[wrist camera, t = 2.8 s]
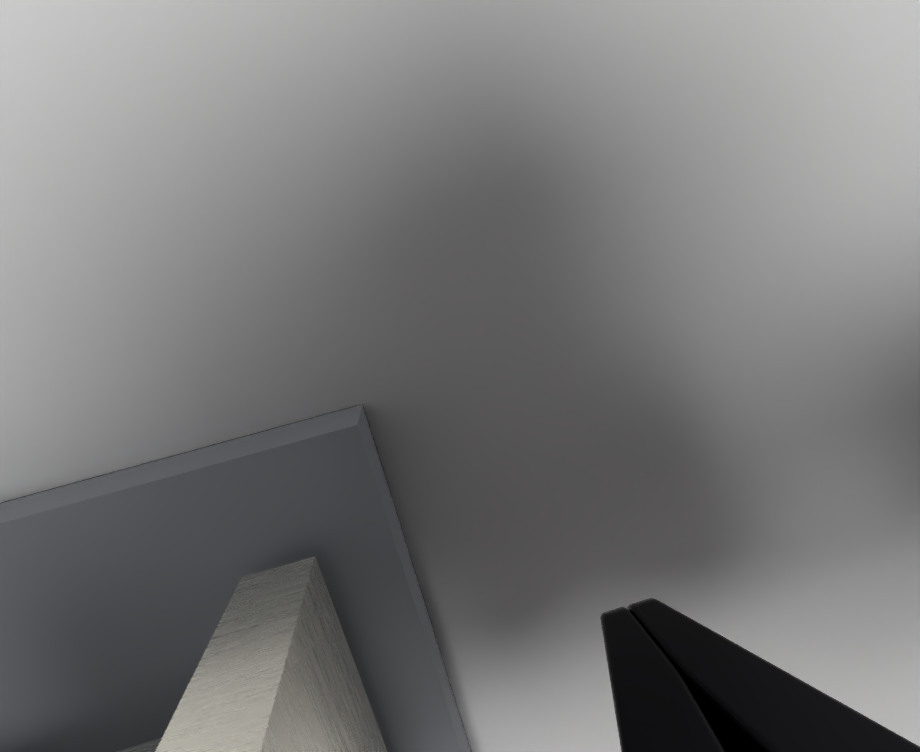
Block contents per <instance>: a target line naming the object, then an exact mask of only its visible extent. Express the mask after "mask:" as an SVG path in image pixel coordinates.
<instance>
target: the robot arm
mask: <svg viewBox="0 0 920 752" xmlns="http://www.w3.org/2000/svg"><path fill="white" fill-rule="evenodd" d="M601 624H602V631H603V637H604V643H605V650H606V656H607V662H608V669H609V675H610V681H611V688H612V694H613V701H614V707H615V713H616V720H617V726H618V732H619V739H620V745H621V752H920V747H919V746H918V745H916V744H914V743H912V742H910V741H909V740H907V739H905V738H903V737H902V736H900V735H898V734H896V733H894V732H893V731H891V730H889V729H887V728H885V727H884V726H882V725H880V724H878V723H876V722H875V721H873V720H871V719H869V718H868V717H866V716H864V715H862V714H860V713H859V712H857V711H855V710H853V709H851V708H850V707H848V706H846V705H844V704H843V703H841V702H839V701H837V700H835V699H834V698H832V697H830V696H828V695H826V694H825V693H823V692H821V691H819V690H818V689H816V688H814V687H812V686H810V685H809V684H807V683H805V682H803V681H801V680H800V679H798V678H796V677H794V676H792V675H791V674H789V673H787V672H785V671H784V670H782V669H780V668H778V667H776V666H775V665H773V664H771V663H769V662H767V661H766V660H764V659H762V658H760V657H759V656H757V655H755V654H753V653H751V652H750V651H748V650H746V649H744V648H742V647H741V646H739V645H737V644H735V643H734V642H732V641H730V640H728V639H726V638H725V637H723V636H721V635H719V634H717V633H716V632H714V631H712V630H710V629H708V628H707V627H705V626H703V625H701V624H700V623H698V622H696V621H694V620H692V619H691V618H689V617H687V616H685V615H683V614H682V613H680V612H678V611H676V610H675V609H673V608H671V607H669V606H667V605H666V604H664V603H662V602H660V601H658V600H656V599H653V598H650V599H646V600H643V601H640V602H637V603H633V604H631V605H629V607H628V609H627V608H625V607H621V608H617V609H614V610H611V611H608V612H605V613H603V614H602V615H601Z"/></svg>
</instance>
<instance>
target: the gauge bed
mask: <svg viewBox="0 0 920 752" xmlns="http://www.w3.org/2000/svg"><path fill="white" fill-rule="evenodd" d="M313 556H315V557H316V560H317V562H318V565H319V568H320V570H321V573H322V576H323V578H324V581H325V584H326V587H327V589H328V592H329V595H330V597H331V600H332V603H333V605H334V608H335V611H336V613H337V616H338V619H339V622H340V624H341V627H342V630H343V632H344V635H345V638H346V640H347V643H348V646H349V648H350V651H351V654H352V657H353V659H354V662H355V665H356V667H357V670H358V673H359V675H360V678H361V681H362V683H363V686H364V689H365V692H366V694H367V697H368V700H369V702H370V705H371V708H372V710H373V713H374V716H375V718H376V721H377V724H378V727H379V729H380V732H381V735H382V737H383V740H384V743H385V745H386V748H387V751H388V752H471V750H470V746H469V743H468V740H467V737H466V734H465V731H464V727H463V724H462V721H461V718H460V715H459V711H458V708H457V705H456V702H455V699H454V695H453V692H452V689H451V686H450V683H449V679H448V676H447V673H446V670H445V667H444V663H443V660H442V657H441V654H440V651H439V648H438V644H437V641H436V638H435V635H434V632H433V628H432V625H431V622H430V619H429V616H428V612H427V609H426V606H425V603H424V600H423V596H422V593H421V590H420V587H419V584H418V581H417V577H416V574H415V571H414V568H413V565H412V561H411V558H410V555H409V552H408V549H407V545H406V542H405V539H404V536H403V533H402V529H401V526H400V523H399V520H398V517H397V513H396V510H395V507H394V504H393V501H392V498H391V494H390V491H389V488H388V485H387V482H386V478H385V475H384V472H383V469H382V466H381V462H380V459H379V456H378V453H377V450H376V446H375V443H374V440H373V437H372V434H371V431H370V427H369V424H368V421H367V418H366V415H365V411H364V408H363V405H358V406H355V407H351V408H347V409H344V410H340V411H336V412H333V413H329V414H325V415H322V416H318V417H314V418H311V419H307V420H303V421H300V422H296V423H292V424H289V425H285V426H281V427H278V428H274V429H270V430H267V431H263V432H259V433H256V434H252V435H248V436H245V437H241V438H237V439H234V440H230V441H227V442H223V443H219V444H216V445H212V446H208V447H205V448H201V449H197V450H194V451H190V452H186V453H183V454H179V455H175V456H172V457H168V458H164V459H161V460H157V461H153V462H150V463H146V464H142V465H139V466H135V467H131V468H128V469H124V470H120V471H117V472H113V473H109V474H106V475H102V476H98V477H95V478H91V479H87V480H84V481H80V482H76V483H73V484H69V485H65V486H62V487H58V488H54V489H51V490H47V491H43V492H40V493H36V494H32V495H29V496H25V497H21V498H18V499H14V500H10V501H7V502H3V503H0V752H117V751H121V750H124V749H127V748H130V747H134V746H137V745H140V744H143V743H146V742H150V741H153V740H156V739H159V738H162V737H163V735H164V733H165V731H166V729H167V727H168V725H169V723H170V721H171V719H172V717H173V715H174V712H175V710H176V708H177V706H178V704H179V702H180V700H181V698H182V696H183V694H184V692H185V690H186V688H187V686H188V684H189V682H190V680H191V678H192V676H193V674H194V672H195V670H196V668H197V666H198V664H199V662H200V660H201V658H202V656H203V654H204V652H205V650H206V648H207V646H208V644H209V642H210V640H211V638H212V636H213V634H214V632H215V630H216V628H217V626H218V624H219V622H220V620H221V618H222V616H223V614H224V612H225V610H226V608H227V606H228V604H229V602H230V600H231V598H232V596H233V594H234V592H235V590H236V588H237V586H238V584H239V582H240V580H241V577H244V576H248V575H251V574H254V573H258V572H261V571H265V570H268V569H272V568H275V567H278V566H282V565H285V564H289V563H292V562H296V561H299V560H302V559H306V558H309V557H313Z"/></svg>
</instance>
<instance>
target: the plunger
mask: <svg viewBox="0 0 920 752" xmlns="http://www.w3.org/2000/svg"><path fill="white" fill-rule="evenodd" d="M117 752H388V751H387V748H386V745H385V743H384V740H383V737H382V735H381V732H380V729H379V727H378V724H377V721H376V718H375V716H374V713H373V710H372V708H371V705H370V702H369V700H368V697H367V694H366V692H365V689H364V686H363V683H362V681H361V678H360V675H359V673H358V670H357V667H356V665H355V662H354V659H353V657H352V654H351V651H350V648H349V646H348V643H347V640H346V638H345V635H344V632H343V630H342V627H341V624H340V622H339V619H338V616H337V613H336V611H335V608H334V605H333V603H332V600H331V597H330V595H329V592H328V589H327V587H326V584H325V581H324V578H323V576H322V573H321V570H320V568H319V565H318V562H317V560H316V557H315V556H313V557H309V558H306V559H302V560H299V561H296V562H292V563H289V564H285V565H282V566H278V567H275V568H272V569H268V570H265V571H261V572H258V573H254V574H251V575H248V576H244V577H241V580H240V582H239V584H238V586H237V588H236V590H235V592H234V594H233V596H232V598H231V600H230V602H229V604H228V606H227V608H226V610H225V612H224V614H223V616H222V618H221V620H220V622H219V624H218V626H217V628H216V630H215V632H214V634H213V636H212V638H211V640H210V642H209V644H208V646H207V648H206V650H205V652H204V654H203V656H202V658H201V660H200V662H199V664H198V666H197V668H196V670H195V672H194V674H193V676H192V678H191V680H190V682H189V684H188V686H187V688H186V690H185V692H184V694H183V696H182V698H181V700H180V702H179V704H178V706H177V708H176V710H175V712H174V715H173V717H172V719H171V721H170V723H169V725H168V727H167V729H166V731H165V733H164V735H163V737H162V738H159V739H156V740H153V741H150V742H146V743H143V744H140V745H137V746H134V747H130V748H127V749H124V750H121V751H117Z"/></svg>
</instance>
